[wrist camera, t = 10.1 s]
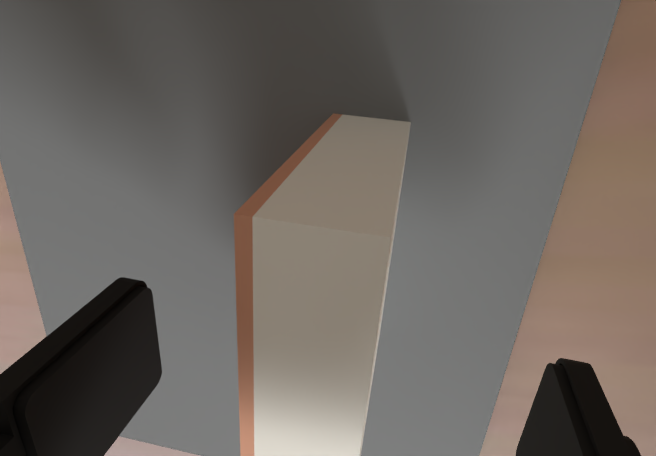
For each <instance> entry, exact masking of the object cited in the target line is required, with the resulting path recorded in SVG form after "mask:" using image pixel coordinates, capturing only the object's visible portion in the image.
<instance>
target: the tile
mask: <svg viewBox="0 0 656 456" xmlns="http://www.w3.org/2000/svg"><path fill="white" fill-rule="evenodd" d="M410 125H411V122H406V121H397V120H388V119H379V118H370V117H361V116H352V115H343V114H332V115H331V116H330V117H329V118H328V119H327V120H326V121H325V122H324V123H323V124H322V125H321V126H320V127H319V128H318V129H317V130H316V131H315V132H314V133H313V134H312V135H311V136H310V137H309V138H308V139H307V140H306V141H305V142H304V143H303V144H302V145H301V147H300V148H299V149H298V150H297V151H296V152H295V153H294V154H293V155H292V156H291V157H290V158H289V159H288V160H287V161H286V162H285V163H284V164H283V165H282V166H281V167H280V168H279V169H278V170H277V171H276V172H275V173H274V174H273V175H272V176H271V177H270V178H269V179H268V180H267V181H266V182H265V183H264V184H263V185H262V186H261V187H260V188H259V189H258V190H257V191H256V192H255V193H254V194H253V195H252V196H251V197H250V198H249V199H248V200H247V201H246V202H245V203H244V204H243V205H242V206H241V207H240V208H239V209H238V210H237V211H236V212H235V213H234V242H235V278H236V314H237V350H238V386H239V422H240V456H361V450H362V444H363V437H364V431H365V424H366V418H367V412H368V405H369V399H370V393H371V386H372V380H373V373H374V367H375V361H376V354H377V348H378V341H379V335H380V328H381V322H382V315H383V308H384V301H385V294H386V288H387V281H388V274H389V267H390V261H391V254H392V247H393V240H394V233H395V227H396V220H397V213H398V206H399V199H400V193H401V186H402V179H403V172H404V165H405V159H406V152H407V145H408V138H409V132H410Z"/></svg>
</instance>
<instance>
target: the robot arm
mask: <svg viewBox="0 0 656 456" xmlns="http://www.w3.org/2000/svg"><path fill="white" fill-rule="evenodd" d="M161 375H162V366H161V358H160V350H159V342H158V334H157V326H156V318H155V310H154V302H153V294H152V290H151V289H150V288H147V284H146V283H145V282H144V281H141V280H135V279H130V278H125V277H120V278H118V279H116V280H115V281H114V282H113V283H112V284H110V285H109V286H108V287H107V288H105V289H104V290H103V291H102V292H101V293H99V294H98V295H97V296H96V297H94V298H93V299H92V300H91V301H90V302H88V303H87V304H86V305H85V306H83V307H82V308H81V309H80V310H79V311H77V312H76V313H75V314H74V315H72V316H71V317H70V318H69V319H68V320H66V321H65V322H64V323H63V324H61V325H60V326H59V327H58V328H57V329H55V330H54V331H53V332H52V333H50V334H49V335H48V336H47V337H46V338H44V339H43V340H42V341H41V342H39V343H38V344H37V345H36V346H35V347H33V348H32V349H31V350H30V351H28V352H27V353H26V354H25V355H24V356H22V357H21V358H20V359H19V360H17V361H16V362H15V363H14V364H13V365H11V366H10V367H9V368H8V369H6V370H5V371H4V372H3V373H2V374H0V456H104V455H105V453H106V452H107V451H108V449H109V448H110V447H111V445H112V444H113V443H114V442H115V440H116V439H117V438H118V436H119V435H120V434H121V432H122V431H123V430H124V428H125V427H126V426H127V424H128V423H129V422H130V420H131V419H132V418H133V416H134V415H135V414H136V412H137V411H138V410H139V409H140V407H141V406H142V405H143V403H144V402H145V401H146V399H147V398H148V397H149V395H150V394H151V393H152V391H153V390H154V389H155V387H156V386H157V385H158V383H159V381H160V378H161ZM516 456H641V455H640V453H639V450H638V448H637V447H636V445H635V443H634V442H633V441H632V440H631V439H630V438H629V437H627V436H623V434H622V432H621V430H620V428H619V425H618V423H617V421H616V419H615V416H614V414H613V412H612V410H611V408H610V405H609V403H608V401H607V399H606V397H605V394H604V392H603V390H602V388H601V385H600V383H599V381H598V379H597V377H596V374H595V372H594V370H593V368H592V366H591V365H590V364H588V363H584V362H579V361H574V360H568V359H563V358H560V359H558V360H557V362H556V364H552V363H549V364H548V365H547V366H546V369H545V371H544V374H543V377H542V380H541V382H540V385H539V388H538V391H537V394H536V396H535V399H534V402H533V405H532V407H531V410H530V413H529V416H528V419H527V421H526V424H525V427H524V430H523V433H522V435H521V438H520V441H519V444H518V446H517V450H516Z"/></svg>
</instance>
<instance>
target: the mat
mask: <svg viewBox="0 0 656 456" xmlns="http://www.w3.org/2000/svg"><path fill="white" fill-rule="evenodd" d="M620 2H621V0H0V162H1V165H2V169H3V173H4V177H5V180H6V184H7V188H8V192H9V196H10V199H11V203H12V207H13V211H14V214H15V218H16V222H17V226H18V230H19V233H20V237H21V241H22V245H23V248H24V252H25V256H26V260H27V263H28V267H29V271H30V275H31V279H32V282H33V286H34V290H35V294H36V297H37V301H38V305H39V309H40V313H41V316H42V320H43V324H44V328H45V331H46V335H47V336H48V335H49V334H50V333H52V332H53V331H54V330H55V329H57V328H58V327H59V326H60V325H61V324H63V323H64V322H65V321H66V320H68V319H69V318H70V317H71V316H72V315H74V314H75V313H76V312H77V311H79V310H80V309H81V308H82V307H83V306H85V305H86V304H87V303H88V302H90V301H91V300H92V299H93V298H94V297H96V296H97V295H98V294H99V293H101V292H102V291H103V290H104V289H105V288H107V287H108V286H109V285H110V284H112V283H113V282H114V281H115V280H116V279H118V278H120V277H125V278H130V279H135V280H141V281H144V282H145V283H146V284H147V288H150V289H151V290H152V294H153V302H154V310H155V318H156V326H157V334H158V342H159V350H160V358H161V366H162V375H161V378H160V381H159V383H158V385H157V386H156V387H155V389H154V390H153V391H152V393H151V394H150V395H149V397H148V398H147V399H146V401H145V402H144V403H143V405H142V406H141V407H140V409H139V410H138V411H137V412H136V414H135V415H134V416H133V418H132V419H131V420H130V422H129V423H128V424H127V426H126V427H125V428H124V430H123V431H122V432H121V434H120V435H119V436H120V437H125V438H129V439H133V440H137V441H142V442H146V443H150V444H154V445H158V446H163V447H167V448H171V449H175V450H180V451H184V452H188V453H192V454H196V455H201V456H240V422H239V386H238V350H237V314H236V278H235V242H234V213H235V212H236V211H237V210H238V209H239V208H240V207H241V206H242V205H243V204H244V203H245V202H246V201H247V200H248V199H249V198H250V197H251V196H252V195H253V194H254V193H255V192H256V191H257V190H258V189H259V188H260V187H261V186H262V185H263V184H264V183H265V182H266V181H267V180H268V179H269V178H270V177H271V176H272V175H273V174H274V173H275V172H276V171H277V170H278V169H279V168H280V167H281V166H282V165H283V164H284V163H285V162H286V161H287V160H288V159H289V158H290V157H291V156H292V155H293V154H294V153H295V152H296V151H297V150H298V149H299V148H300V147H301V145H302V144H303V143H304V142H305V141H306V140H307V139H308V138H309V137H310V136H311V135H312V134H313V133H314V132H315V131H316V130H317V129H318V128H319V127H320V126H321V125H322V124H323V123H324V122H325V121H326V120H327V119H328V118H329V117H330V116H331V115H332V114H343V115H352V116H361V117H370V118H379V119H388V120H397V121H406V122H411V125H410V132H409V138H408V145H407V152H406V159H405V165H404V172H403V179H402V186H401V193H400V199H399V206H398V213H397V220H396V227H395V233H394V240H393V247H392V254H391V261H390V267H389V274H388V281H387V288H386V294H385V301H384V308H383V315H382V322H381V328H380V335H379V341H378V348H377V354H376V361H375V367H374V373H373V380H372V386H371V393H370V399H369V405H368V412H367V418H366V424H365V431H364V437H363V444H362V450H361V456H479V454H480V451H481V448H482V445H483V442H484V438H485V435H486V432H487V429H488V426H489V422H490V419H491V416H492V413H493V410H494V406H495V403H496V400H497V397H498V393H499V390H500V387H501V384H502V381H503V377H504V374H505V371H506V368H507V365H508V361H509V358H510V355H511V352H512V349H513V345H514V342H515V339H516V336H517V333H518V329H519V326H520V323H521V320H522V317H523V313H524V310H525V307H526V304H527V301H528V297H529V294H530V291H531V288H532V284H533V281H534V278H535V275H536V272H537V268H538V265H539V262H540V259H541V256H542V252H543V249H544V246H545V243H546V240H547V236H548V233H549V230H550V227H551V224H552V220H553V217H554V214H555V211H556V208H557V204H558V201H559V198H560V195H561V192H562V188H563V185H564V182H565V179H566V175H567V172H568V169H569V166H570V163H571V159H572V156H573V153H574V150H575V147H576V143H577V140H578V137H579V134H580V131H581V127H582V124H583V121H584V118H585V115H586V111H587V108H588V105H589V102H590V99H591V95H592V92H593V89H594V86H595V83H596V79H597V76H598V73H599V70H600V66H601V63H602V60H603V57H604V54H605V50H606V47H607V44H608V41H609V38H610V34H611V31H612V28H613V25H614V22H615V18H616V15H617V12H618V9H619V6H620Z"/></svg>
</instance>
